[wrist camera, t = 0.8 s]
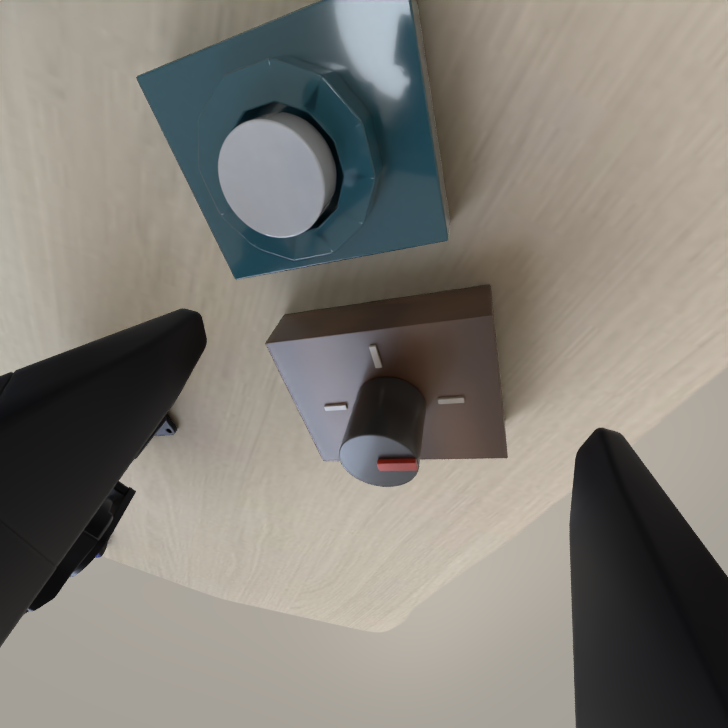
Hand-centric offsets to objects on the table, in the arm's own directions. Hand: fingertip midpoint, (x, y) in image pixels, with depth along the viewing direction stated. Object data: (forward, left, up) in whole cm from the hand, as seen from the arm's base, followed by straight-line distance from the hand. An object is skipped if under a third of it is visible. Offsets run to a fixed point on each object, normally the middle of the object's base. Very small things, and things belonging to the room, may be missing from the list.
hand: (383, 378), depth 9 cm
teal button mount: (-5, +3, -13) cm, 14 cm away
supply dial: (-4, -10, -10) cm, 14 cm away
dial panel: (-4, -10, -13) cm, 17 cm away
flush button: (-5, +3, -9) cm, 11 cm away
